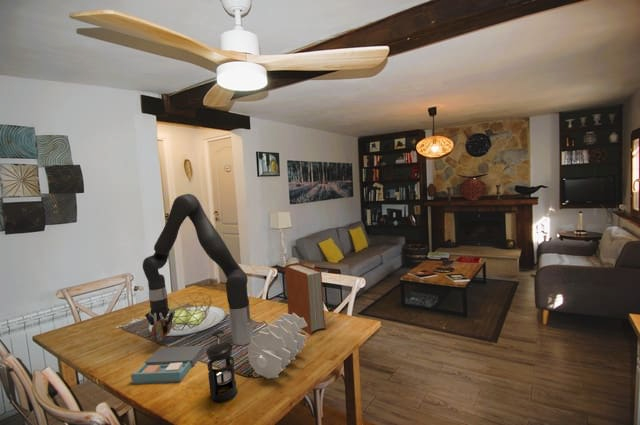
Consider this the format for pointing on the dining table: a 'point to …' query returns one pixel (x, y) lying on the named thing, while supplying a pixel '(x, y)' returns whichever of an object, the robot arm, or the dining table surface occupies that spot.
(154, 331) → the tin
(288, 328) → the grey pine cone
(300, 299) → the book
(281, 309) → the dining table surface
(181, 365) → the cream tile
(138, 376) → the tray
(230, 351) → the french press
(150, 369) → the terracotta tile
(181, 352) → the grey stone slab
